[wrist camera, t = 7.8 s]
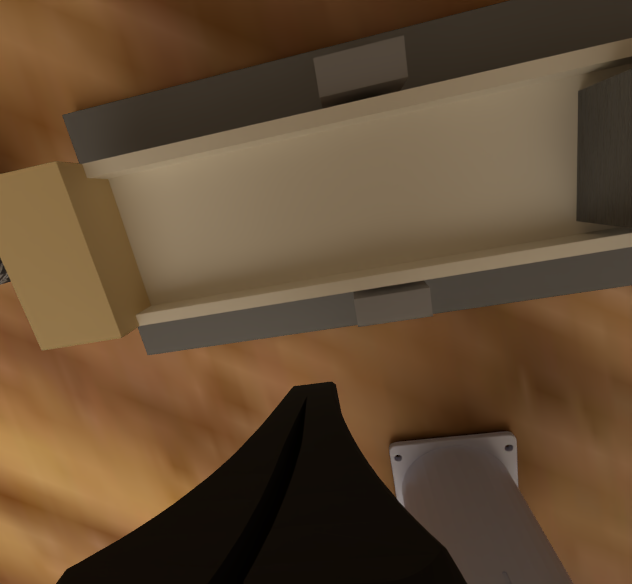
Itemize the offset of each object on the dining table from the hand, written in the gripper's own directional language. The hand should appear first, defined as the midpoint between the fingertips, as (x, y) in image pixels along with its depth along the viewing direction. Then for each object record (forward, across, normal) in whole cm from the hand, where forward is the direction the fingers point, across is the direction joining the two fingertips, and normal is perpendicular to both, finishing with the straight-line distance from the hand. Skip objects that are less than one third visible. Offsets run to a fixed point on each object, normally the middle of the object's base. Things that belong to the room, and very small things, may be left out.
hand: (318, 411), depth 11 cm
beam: (+7, -3, -6) cm, 9 cm away
